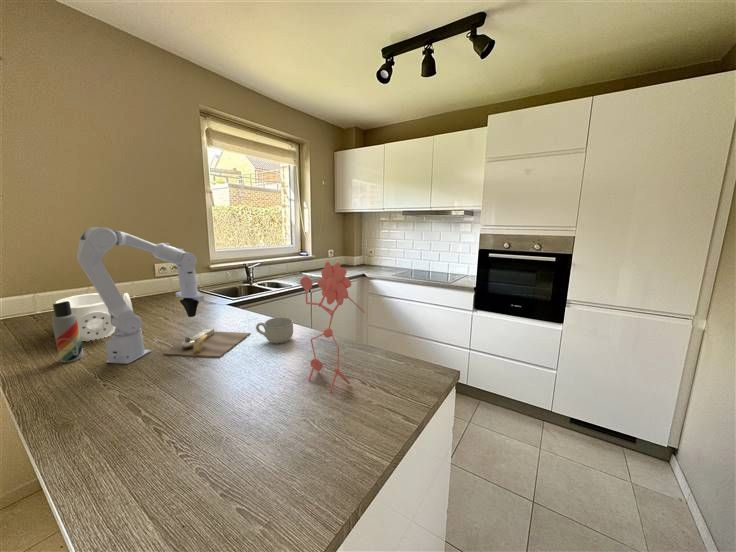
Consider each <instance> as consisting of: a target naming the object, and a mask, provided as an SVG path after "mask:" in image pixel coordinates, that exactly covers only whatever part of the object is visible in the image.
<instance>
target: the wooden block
mask: <svg viewBox="0 0 736 552" xmlns="http://www.w3.org/2000/svg"><path fill="white" fill-rule="evenodd" d="M214 332H215V328H210V327H209V328H205V329H203V330H202V331H200V332H198V333H196V334H195V335H192V336H186V337H184V340H183V341H181V343H182V348H183V349H189V348H192V347H193V343H194V342H195V341H196V340H197V339H198V338H200V337H201V336H202V335H208V337H209V336H211V335H212V334H214ZM208 337H207V338H208Z"/></svg>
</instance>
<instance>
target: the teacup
mask: <svg viewBox="0 0 736 552" xmlns="http://www.w3.org/2000/svg"><path fill="white" fill-rule="evenodd" d="M260 326H262V327H263V329H264V331H263V330H261V329H260ZM255 329H256V332H258V333H259V334H260V335H263V336H264V337H265V339H266V340H267V341H269V342H270V343H271V344H274V343H276V345H279V344H278V343H281V344H285V343H287V342H288V341H290V339H291V338H292V337H293V336H294V320H293V319H292V318H291V317H285V316H277V317H272V318H269V319H267V320H265V322H261V321H260V322H258V323H257V324H256V327H255ZM284 342H285V343H284Z"/></svg>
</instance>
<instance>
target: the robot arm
mask: <svg viewBox="0 0 736 552" xmlns="http://www.w3.org/2000/svg"><path fill="white" fill-rule="evenodd" d="M114 246H129V247H133V248H135V249H136V248H137V249H140V250H142V251H146V252H149V253H152V256H153V257H154V258H155V259H159V260H161V261H165V262H168V263H170V264H174V265H176V266H177V267H176V268H177V275H178V277H177V278H178V284H179V291H176V292H175V298H182V299H180V300H179V303H180V304H181V305H182V306H183V308H184V310H185V312H186V314H187V317H188V318H193V317H196V315H197V309H198V305H199V303H200V302H202V301H205V295H203V294H202V293H201V291H199V290H198V283H197V274H196V265H197V264H198V263H197V262H198V259H197V257H196V255H195V254H194V253H192V252H189V251H184V248H177V247H175V246H171V244H170V243H169V242H164V243H163V242H160V243H156V244H155V243H153V242H150V241H148V240H145V239H143V238H140V237H138V236H135V235H132V234H130V233H127V232H124V231H119V230H115V229H114V230H113V229H111V228H109V227H102V226H101V227H98V226H91V227H88V228H87V229H86V230H84V232H83V233H82V234H81V236H80V237H79V245H78V248H77V255H76V260H77V262H78V264H79V265H80V267H81V269H82V270H83V272H84V273H85V275H86V276H87V278H88V279H89V281H90V283H91V284H92V286H93V288H94V289H95V291H96V293H98V294H99V296H100V297H101V299H102V300H103V302H104V303H105V305H106V307H107V308H108V312H109V314H110V316H111V324H112V325H113V326H114V327H116V329H115V331H114V334H113V335H112V336H111V338H109V339H107V340H106V343H105V349H106V354H107V359H108V360H106V363H107V364H108V363H110V364H124V365H125V364H127V365H128V364H130V363H132V362H134V361H136V360H138V359H140V358H142V357H144V356H146V355H147V354H149V353H151V352H152V350H151V349H145V345H144V339H143V331H142V326H143V320H142V318H141V317H140V316H139V315H137V314H135V312H134V310H133V311H132V310H131V309H130V307H129V306H128V305H127V304H126V302H125V301H124V299H123V297H124V296H123V295H122V293H121V292H120V290H119V289H118V287H117V286H116V283H115V282H114V280H113V279H112V277H111V276H110V274H109V272H108V270H107V269H106V268H105V265H104V264H103V262H102V259H103V257H104V256H105V255H106V252H108V251H109V250H111V249H112V248H113V247H114Z"/></svg>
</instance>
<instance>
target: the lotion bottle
mask: <svg viewBox="0 0 736 552" xmlns="http://www.w3.org/2000/svg"><path fill="white" fill-rule="evenodd" d="M52 306H53V313H54V316H53V317H51V323H52V324H51V325H52V328H53V329H52V330H53V334H54V339H55V343H56V349H57V354H58V358H59V362H60V363H62V362H64V364H66V363H65V362H67V363H72V362H76V361H79V360H81V359H83V358H84V350H83V342H82V341H81V338H80V333H79V327H78V322H77V317H76V314H72V312H71V307H70V302H69V301H65V302H61V303H57V304H56V303H53V304H52Z"/></svg>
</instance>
